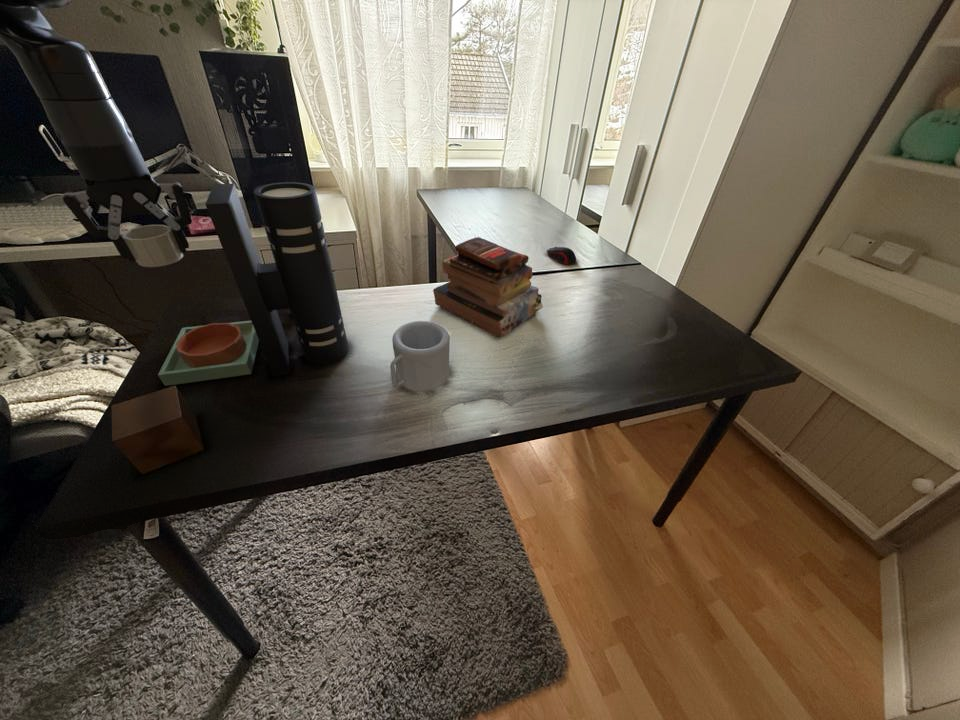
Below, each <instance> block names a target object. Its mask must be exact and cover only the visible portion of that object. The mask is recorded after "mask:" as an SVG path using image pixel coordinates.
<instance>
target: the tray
mask: <svg viewBox="0 0 960 720" xmlns="http://www.w3.org/2000/svg"><path fill="white" fill-rule="evenodd" d="M229 323H230V324H232V325H235V326H238V327H239V329H240V331H241V333H242V336H243V338H244V340H245V343H246V350H245V352H244V353H243V355H242V356H241V357H239V358H238V359H237V360H235V361H234V362H232V363H228V364H220V365H213V366H205V367H197V368H191V367H189V366H188V365H187V364H185V363H184V361H183V360H182V358H181V356H180V354H179V353H178V350H177V346H176V343H177V342H178V341H179V339H180V338H181V337H182V336H183V335H184V334H186V333H188V332H189V331H191V330H193V329H195V328H197V327H201V326H202V325H196V326H195V325H194V326H185V327H182V328H181V329H180V332H179V333H178V335H177V337H176V339H175V341H174V343H173V345H172V347H171V349H170V351H169V352H168V355H167V356H166V358H165V360H164V362H163V364H162V366H161V368H160V370H159V372H158V373H157V376H158V378H159V380H160V381H161V382H162V384H163V385H164V387H170V386H176V385H182V384H189V383H197V382H204V381H211V380H219V379H226V378H233V377H239V376H246V375H247V376H248V375H252V372H253V368H254V364H255V359H256V356H257V351H258V348H259V344H260V342H259V339H258V337H257V334H256V332H255V329H254V326H253V324H252V321H251V320H243V321H233V322H229ZM205 325H206V324H205ZM205 325H203V326H205Z"/></svg>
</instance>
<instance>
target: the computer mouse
mask: <svg viewBox="0 0 960 720" xmlns="http://www.w3.org/2000/svg"><path fill="white" fill-rule="evenodd" d="M546 253H547V255H548V256H549V257H551V258H553V259H555V261H556V262H558V263H560V264H561V265H573V264H575V263H576V262H577V257H576V253H575V252H574V251H573V250H572V249H571V248H569V247H565V246H554V247H550V248H549V249H547V250H546Z"/></svg>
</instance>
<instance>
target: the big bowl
mask: <svg viewBox="0 0 960 720" xmlns="http://www.w3.org/2000/svg"><path fill="white" fill-rule="evenodd" d="M230 323H231V322H212V323H208V324H205V326H204V325H200V326H201V327H197V328H195V329H193V330H191V331H189V332H188V333H186V334H184V335H183V336H182V337H181V338H180V339H179V341H178V342H177V343H176V346H177V350H178V353H179V354H180V356H181V358H182V360H183V361H184V363H185V364H187V365H188V366H189V367H191V368H197V367H205V366H213V365H220V364H228V363H232V362H234V361H235V360H237V359H238V358H239V357H241V356H242V355H243V353H244V352H245V350H246V343H245V340H244V338H243V336H242V333H241V331H240V329H239V327H238V326H235V325H232V324H230Z"/></svg>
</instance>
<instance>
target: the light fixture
mask: <svg viewBox="0 0 960 720" xmlns="http://www.w3.org/2000/svg"><path fill="white" fill-rule="evenodd" d="M253 195H254V198H255V202H256V205H257V208H258V211H259V215H260V218H261V220H262V224H263V225H264V230H265V234H266V237H267V241H268V242H269V247H270V250H271V253H272V256H273V259H274V262H269V263H261V259H260V257H259V254H258V253H259V252H258V250H257V248H256V245H255V241H254V238H253V235H252V233H251V229H250V227H249V223H248V221H247V218H246V215H245V212H244V211H245V210H244V209H243V205H242V202H241V199H240V196H239V194H238V191H237V188H236V185H235V183H213V185H212V188H211V190H210V192H209V194H208V197H207V199H206V202H205V205H204V206H205V207H206V210H207V212H208V215H209V217H210V220H211V223H212V225H213V228H214V231H215V232H216V236H217V237H218V240H219V242H220V246H221V248H222V251H223V253H224V255H225V258H226V260H227V263H228V266H229V269H230V271H231V273H232V275H233V278H234V281H235V283H236V286H237V288H238V290H239V294H240V296H241V299H242V301H243V303H244V306H245V309H246V311H247V315H248V316H249V319H250V321H252V324H253V326H254V329H255V332H256V334H257V337H258V339H259V344H260V347H261V350H262V352H263V354H264V357H265V360H266V362H267V364H268V367H269V370H270V372H271V375H272V377H273V378H276V377H280V376H286V375H290V360H289V359H290V356H289V355H290V354H289V343H288V340H287V336H286V334H285V330H284V327H283V325H282V322H281V319H280V316H279V313H278V310H285V309H289V311H290V314H291V318H292V321H293V324H294V328H295V331H296V334H297V336H298V340H299V345H300V347H301V350H302V353H303V356H304V357H303V358H304V359H305V360H306V361H307V362H309V363H311V364H313V365H321V366H324V365H330V364H334V363H336V362H339V361H341V360H342V359H343V358H345V357H346V356H347V354H348V352H349V349H350V348H349V343H348V339H347V333H346V329H345V324H344V320H343V316H342V310H341V306H340V305H341V304H340V301H339V300H340V299H339V295H338V290H337V286H336V280H335V276H334V272H333V267H332V261H331V256H330V252H329V248H328V242H327V239H326V233H325V227H324V223H323V222H322V214H321V209H320V204H319V200H318V195H317V189H316V187H315V186H314V185H312V184H309V183H306V182H305V183H304V182H298V181H297V182H296V181H295V182H294V181H285V182H284V181H283V182H274V183H267V184H263V185H261V186H258V187H256V188H255V189H254V190H253Z"/></svg>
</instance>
